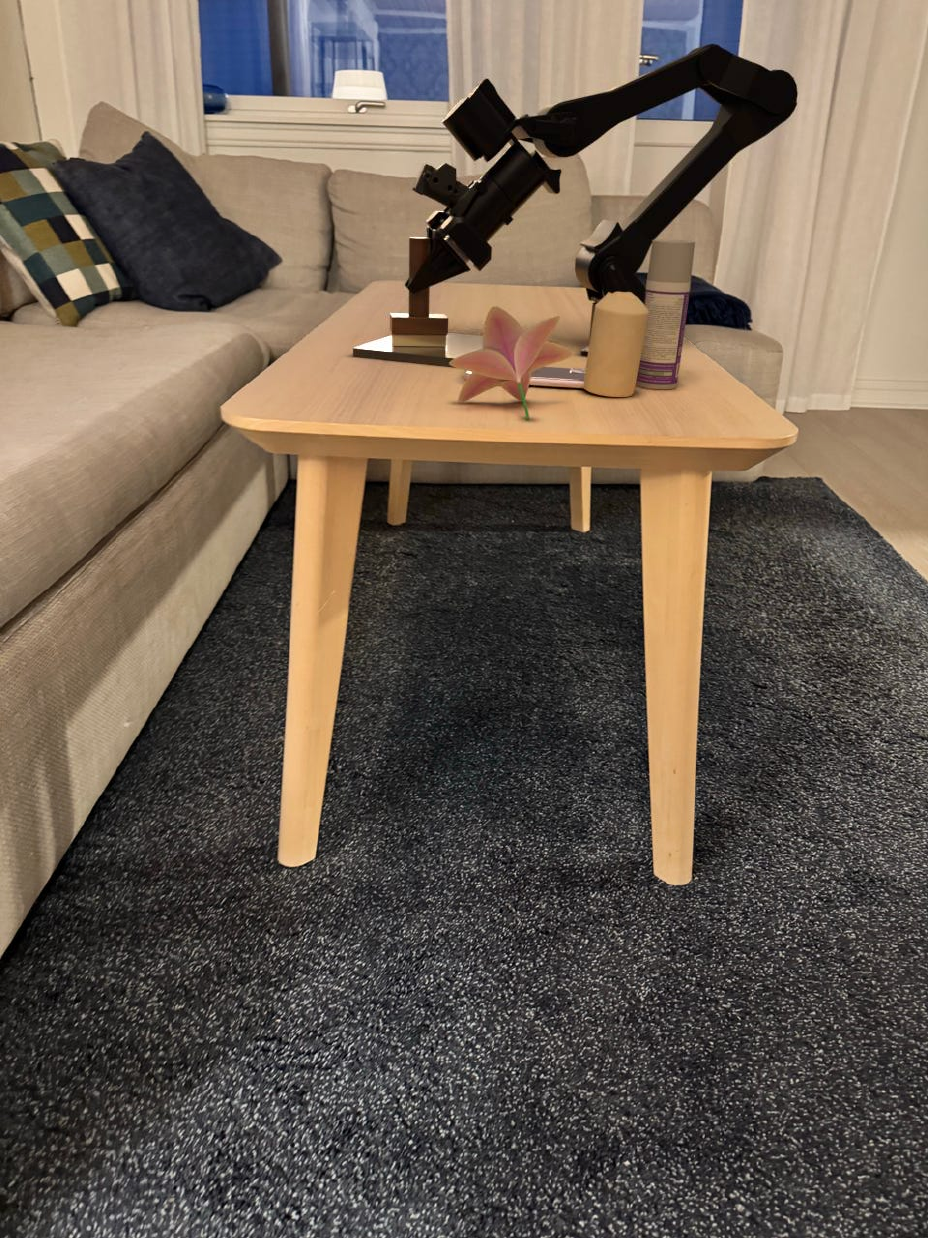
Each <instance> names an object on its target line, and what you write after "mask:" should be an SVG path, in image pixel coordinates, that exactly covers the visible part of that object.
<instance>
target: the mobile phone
mask: <svg viewBox="0 0 928 1238" xmlns="http://www.w3.org/2000/svg"><path fill="white" fill-rule="evenodd" d="M585 370H586V368H582V367H559V366H558V367H555V366H544V367H542V368H540V369H537V370H535V371H533V372H531V378H530V383H529V386H537V387H553V388H569V389H584V376H585ZM471 373H472V372H469V371H466V370H465V372H464V374H463V378H464V380H466V379H467V378H468V376H469V375H470V374H471Z"/></svg>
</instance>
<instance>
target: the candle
mask: <svg viewBox="0 0 928 1238" xmlns="http://www.w3.org/2000/svg"><path fill="white" fill-rule="evenodd" d="M648 313H649V311H648V309H647V308H646V306H645V305H644V304H643V303H642V302H641V301H640V300H639V298H638V297H636V296H635V295H634V294H632V293H631V292H614V293H613V294H612V293H610V292H608V294H607V295H606V296H605V297H604V298H603V299H601V300H600V301H599V302H598V303H597V304H596V305H595V310H594V317H593V324H592V330H591V337H590V343H589V342H588V345H589V350H588V355H586V357H587V358H586V362H585V363H586V364H585V369H586V370H585V376H584V388H583V389H584V390H585V391H587V392H589V393H591V394H595V395H599V396H605V397H610V398H611V397H612V398H626V397H631V396H633V395H634V394H635V390H636V386H637V385H636V380H637V375H638V369H639V364H640V358H641V352H642V347H643V341H644V336H645V330H646V325H647V319H648Z"/></svg>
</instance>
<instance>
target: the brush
mask: <svg viewBox="0 0 928 1238" xmlns="http://www.w3.org/2000/svg"><path fill="white" fill-rule="evenodd" d="M430 251H431V238H427V236H426V237H425V236H410V237H408V278H409V283H410V281H411V280H412V278H413V277H414V275H415V274H416V272H417V271H418V269H419V268H420V266H421V265H422V263H423V262H424V260H425V259H426V258H427V256H428V255H429V253H430ZM430 297H431V287H429V288H426V289H424V290H422V291H419V292H417V293H415V294H412V293H411V292H410V291H409V290H408V312H407V313H401V312H400V313H397V312H394V313H393V312H389V331H390V332H391V333H390V334H391V335H390V336H391V342H392V344H393V346H414V347H446V335H448V333H449V317H448V316H447V315H446V314H444V313H430V302H431V301H430Z"/></svg>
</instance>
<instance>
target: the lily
mask: <svg viewBox="0 0 928 1238" xmlns="http://www.w3.org/2000/svg"><path fill="white" fill-rule="evenodd" d="M560 320H561V316H560V315H557V316H556V315H555V316H553V317H549V318H547V319H545V320H543V321H541V322H539V323H537V324H535V325H533V326H531V327H530V328H528V329H526V330H524V328H523V327H522V325H521V324H520V322H518V321H517V320H516V319H515V317H514V316H512V315H511V314H510V313H508V312H507V311H506V310H505V309H504V308H501V307H500V306H492V307H491V308H490V309H489V311H488V313H487V315H486V318H485V321H484V325H483V330H482V336H483V337H482V344H483V349H482V350H477V351H473V352H470V353H467V354H464V355H462V356H459V357H457V358H455V359H453V360H451V361H450V362H449V364H450V365H451V366H454V367H453V368H457V369H459V370H463V371H465V372H466V371H469V372H472V373H471V374H470V375H469V376H468V378H467V379H465V381H464V383H463V385H462V387H461V389H460V392H459V395H458V398H457V402H458V403H459V404H462V403H465V402H467V401H469V400H471V399H473V398H475V397H477V396H478V395H481V394H483V393H485V392H487V391H489V390H492V389H494V388H497V387H499V386H500V387H501V388H502V389H503V390H504V391H505V392H506V393H508V394H509V395H510V396H512V397H513V398H514V399H516V400H518V401H520V402H522V406H523V409H524V410H523V411H524V415H525V418H526V419H525V420H530V415H529V410H528V406H527V402H526V397H527V394H528V390H529V387H530V385H529V383H530V378H531V372H533V371H535V370H537V369H540V368H542V367H548V366H551V365H553V364H556V363H559V362H564V361H565V360H568V359H570V358H571V357H573V356H574V354H573V352H572V351H571V350H570V349H568V348H566V347H564V346H562V345H560V344H557V343H555V342H551V341H549V338H550V336H551V335H552V333H553V331H554V330H555V328H556V327H557V325H558V323H559V321H560Z"/></svg>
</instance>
